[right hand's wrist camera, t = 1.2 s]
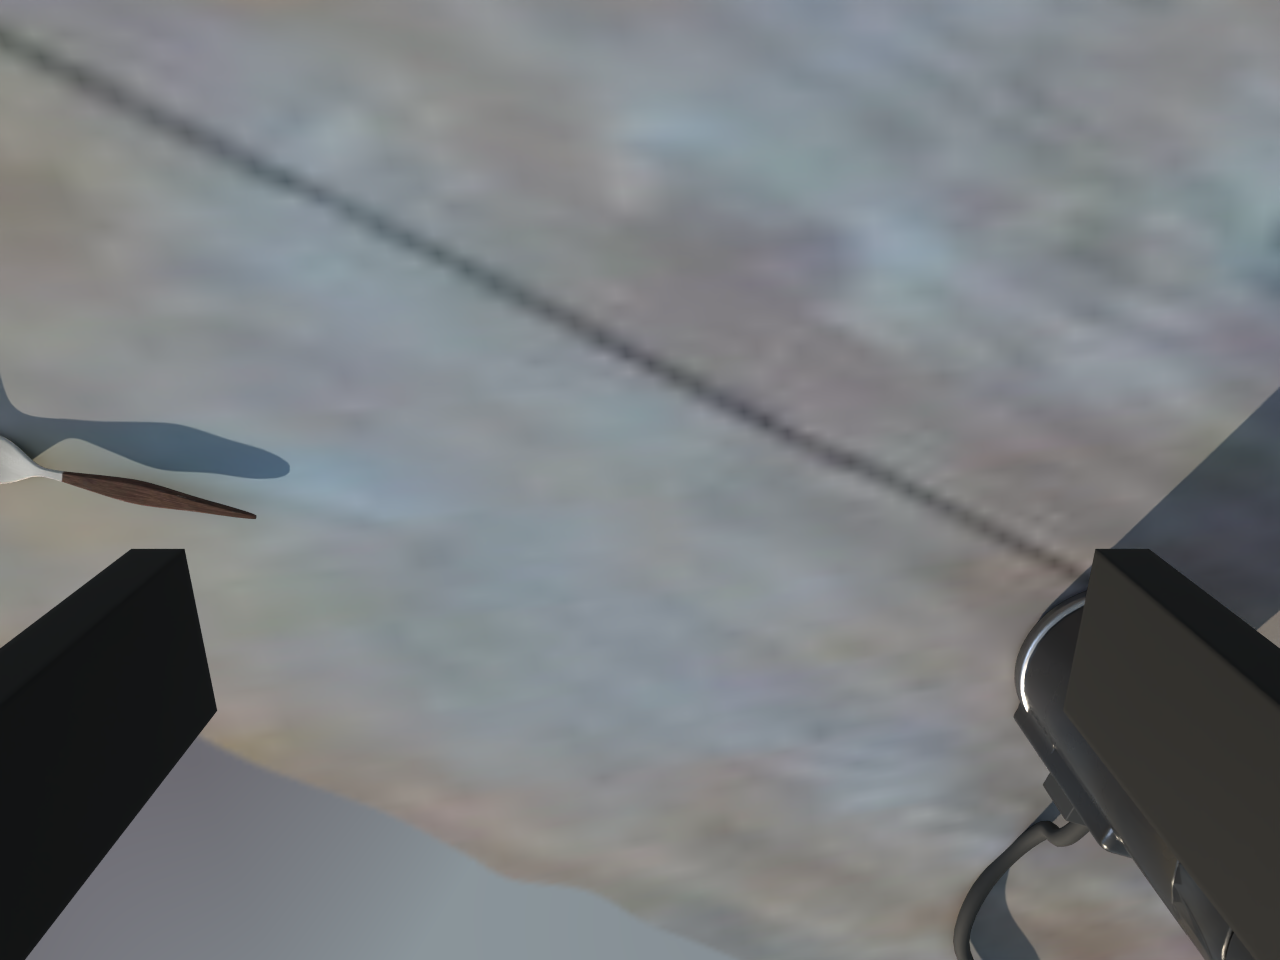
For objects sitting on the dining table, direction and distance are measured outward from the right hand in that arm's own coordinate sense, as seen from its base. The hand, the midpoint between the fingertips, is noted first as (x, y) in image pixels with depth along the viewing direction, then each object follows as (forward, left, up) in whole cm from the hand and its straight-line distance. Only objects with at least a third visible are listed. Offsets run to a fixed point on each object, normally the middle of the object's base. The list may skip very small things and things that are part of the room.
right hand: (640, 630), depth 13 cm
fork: (+8, -26, -28) cm, 39 cm away
